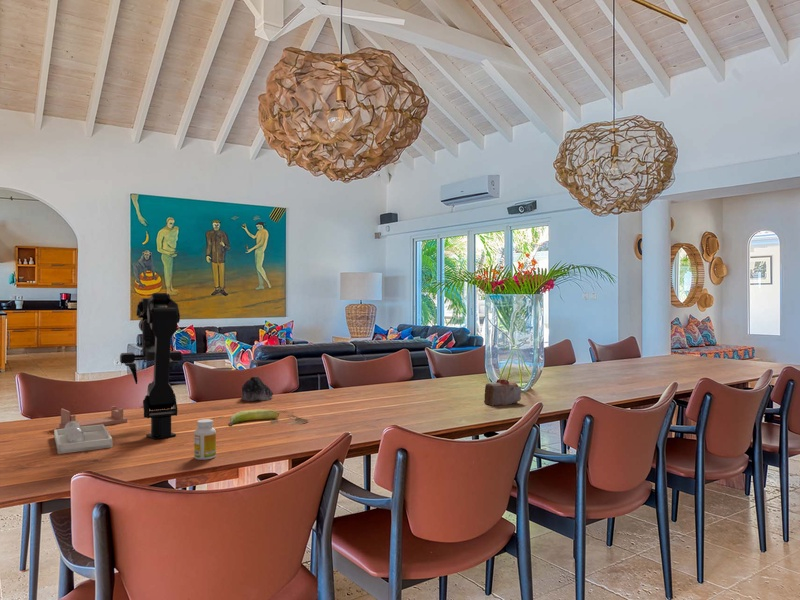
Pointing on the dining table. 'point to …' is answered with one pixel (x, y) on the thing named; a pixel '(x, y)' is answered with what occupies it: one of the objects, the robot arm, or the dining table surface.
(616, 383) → the dining table surface
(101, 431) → the tray
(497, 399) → the food item
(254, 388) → the dark grey rough lump
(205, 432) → the supplement bottle
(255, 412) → the unripe green banana
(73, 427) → the pin
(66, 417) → the hitch bracket
